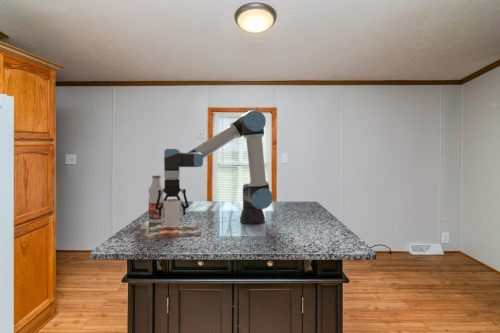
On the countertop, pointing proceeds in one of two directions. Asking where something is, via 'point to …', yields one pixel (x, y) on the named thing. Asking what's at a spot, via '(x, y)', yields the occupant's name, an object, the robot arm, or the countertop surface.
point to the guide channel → (166, 231)
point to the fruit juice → (155, 200)
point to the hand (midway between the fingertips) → (172, 222)
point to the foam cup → (172, 212)
